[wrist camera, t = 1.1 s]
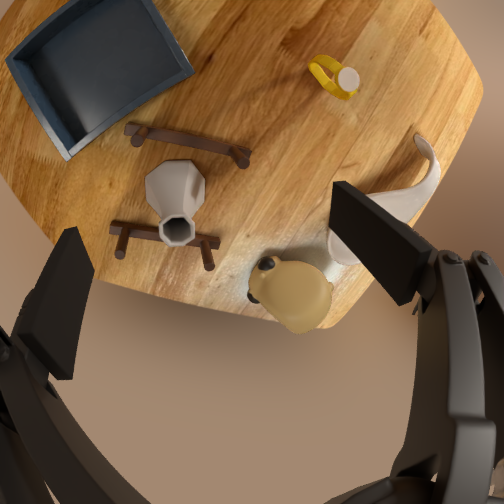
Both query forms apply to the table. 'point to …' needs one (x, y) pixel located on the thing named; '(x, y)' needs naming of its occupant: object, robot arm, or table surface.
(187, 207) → the flask
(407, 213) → the spoon rest
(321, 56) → the watch
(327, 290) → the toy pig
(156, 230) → the drying rack
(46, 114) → the basin
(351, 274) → the table surface
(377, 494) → the robot arm
